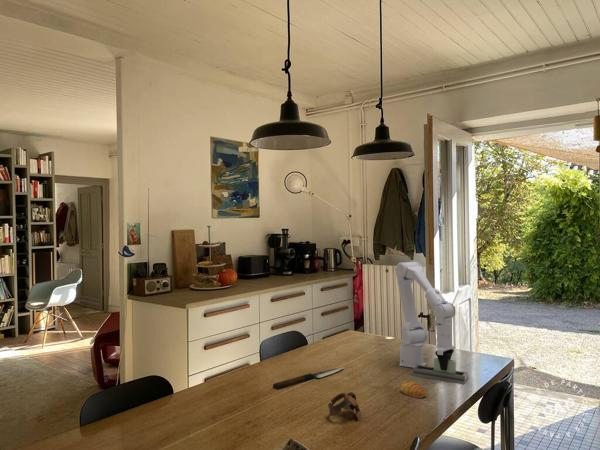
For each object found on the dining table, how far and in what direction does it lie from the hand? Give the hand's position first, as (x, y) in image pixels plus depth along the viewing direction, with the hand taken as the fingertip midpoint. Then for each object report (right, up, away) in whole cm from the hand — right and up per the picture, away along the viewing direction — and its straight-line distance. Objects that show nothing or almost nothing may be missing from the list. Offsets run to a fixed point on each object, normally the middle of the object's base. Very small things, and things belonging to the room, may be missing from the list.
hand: (444, 368), depth 179 cm
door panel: (0, -2, 0) cm, 2 cm away
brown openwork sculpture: (-42, -4, -35) cm, 55 cm away
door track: (-2, -3, +1) cm, 4 cm away
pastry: (-16, -4, -16) cm, 23 cm away
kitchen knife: (-52, -5, +1) cm, 52 cm away
